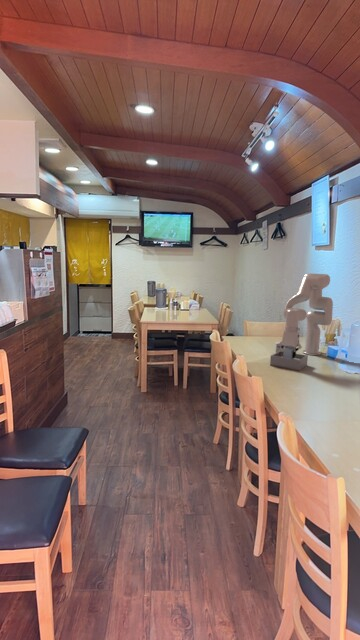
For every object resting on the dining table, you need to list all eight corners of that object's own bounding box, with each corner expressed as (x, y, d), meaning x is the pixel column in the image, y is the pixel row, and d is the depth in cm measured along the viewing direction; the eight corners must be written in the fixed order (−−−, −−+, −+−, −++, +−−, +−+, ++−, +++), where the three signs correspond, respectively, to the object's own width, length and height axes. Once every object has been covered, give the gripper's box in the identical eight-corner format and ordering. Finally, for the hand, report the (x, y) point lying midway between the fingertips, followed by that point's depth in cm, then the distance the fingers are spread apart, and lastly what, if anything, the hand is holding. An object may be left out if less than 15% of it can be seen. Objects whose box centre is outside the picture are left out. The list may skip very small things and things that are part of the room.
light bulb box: (289, 357, 262) (290, 342, 260) (291, 359, 255) (292, 344, 254) (273, 356, 263) (274, 341, 261) (275, 358, 256) (276, 343, 255)
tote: (279, 360, 253) (280, 350, 252) (307, 365, 242) (307, 355, 241) (270, 365, 239) (270, 355, 238) (298, 370, 229) (299, 360, 228)
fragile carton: (287, 356, 245) (288, 345, 244) (295, 357, 242) (296, 347, 241) (282, 358, 238) (283, 348, 237) (290, 360, 235) (291, 349, 234)
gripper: (306, 330, 235) (304, 358, 238) (280, 326, 245) (278, 353, 248) (303, 331, 229) (300, 360, 232) (276, 328, 239) (274, 355, 242)
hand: (289, 356), depth 240 cm, fingers closed on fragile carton, 5 cm apart
